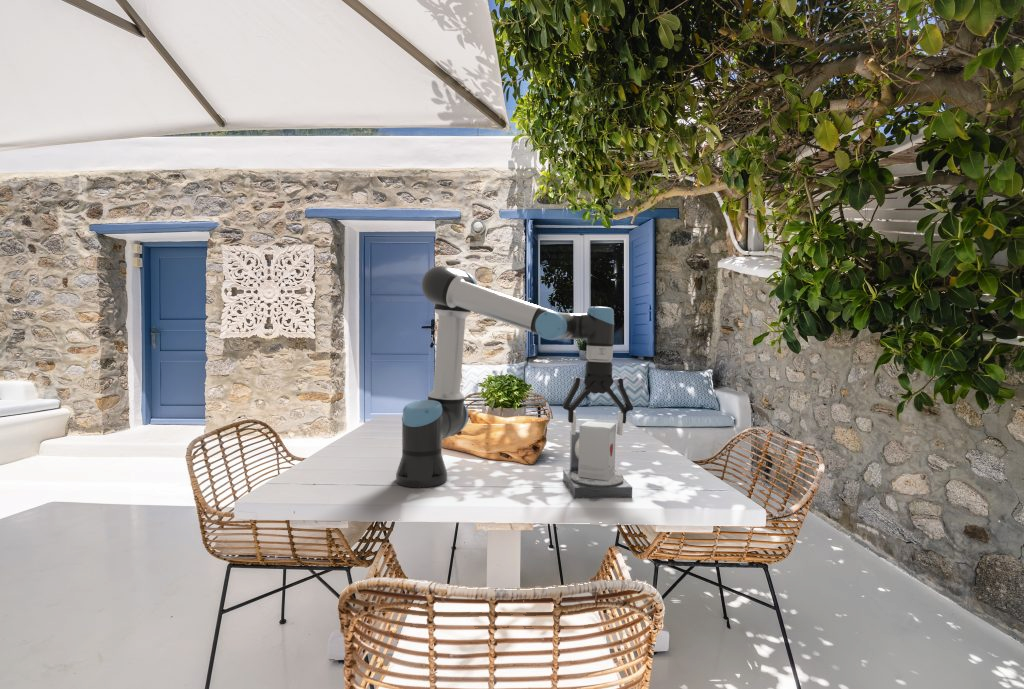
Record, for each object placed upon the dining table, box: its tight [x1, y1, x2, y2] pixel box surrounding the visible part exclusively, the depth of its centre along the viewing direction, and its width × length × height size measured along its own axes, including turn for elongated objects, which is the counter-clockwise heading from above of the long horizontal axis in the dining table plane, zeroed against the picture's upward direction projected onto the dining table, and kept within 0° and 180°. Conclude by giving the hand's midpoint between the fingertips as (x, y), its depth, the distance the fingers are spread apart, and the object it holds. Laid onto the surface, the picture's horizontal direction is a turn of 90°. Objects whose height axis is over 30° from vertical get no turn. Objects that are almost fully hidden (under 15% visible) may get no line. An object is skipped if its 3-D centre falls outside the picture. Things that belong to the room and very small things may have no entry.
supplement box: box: [578, 420, 617, 481], centre depth 152 cm, size 9×9×15 cm
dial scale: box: [562, 430, 633, 500], centre depth 153 cm, size 16×18×15 cm
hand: (596, 434), depth 152 cm, fingers open, 13 cm apart
